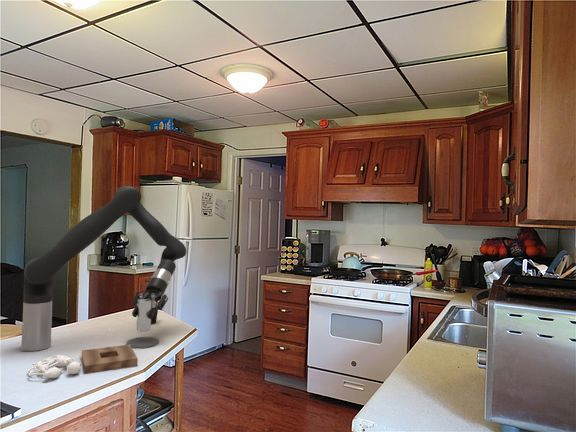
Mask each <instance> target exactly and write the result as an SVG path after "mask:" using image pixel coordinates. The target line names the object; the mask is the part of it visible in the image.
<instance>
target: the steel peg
mask: <svg viewBox="0 0 576 432" xmlns="http://www.w3.org/2000/svg"><path fill="white" fill-rule="evenodd" d="M150 310H151V300H150V299H140V300H138V304H137V316H136V331H137V332H138V334H140V333H148V332H152V331H151V330H152V329H151V328H152V324H151V319H149V318H148V317H147V316H148V314H149V312H150Z"/></svg>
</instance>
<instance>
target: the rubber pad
mask: <svg viewBox="0 0 576 432" xmlns="http://www.w3.org/2000/svg"><path fill="white" fill-rule="evenodd" d="M159 343H160V339H158V338H156V337H153V336H142V337H141V336H140V337H139V336H138V337H133V338H130V339H129V340H127V341H126V345H129V344H130V346H131V347H132V349H136V348H142V349H148V348H149V349H150V348H152V347H153V348H154V347H156V346H157V345H159Z"/></svg>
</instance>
